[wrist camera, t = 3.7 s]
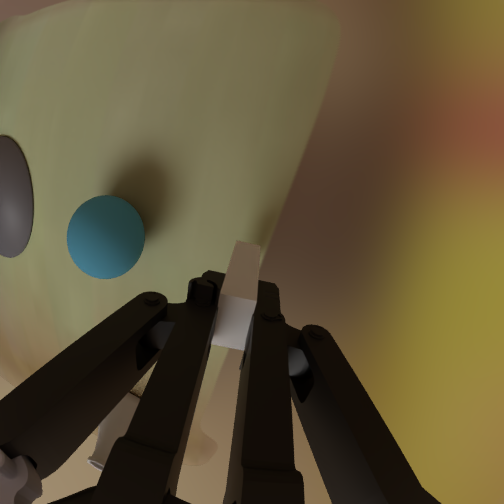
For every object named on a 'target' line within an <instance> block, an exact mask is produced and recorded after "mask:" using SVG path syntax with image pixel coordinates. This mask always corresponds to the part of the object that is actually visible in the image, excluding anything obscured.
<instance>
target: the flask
mask: <svg viewBox="0 0 504 504" xmlns="http://www.w3.org/2000/svg"><path fill="white" fill-rule="evenodd" d="M139 401H140V398H138V397H136V396H134V395H132V394H131V393H129V392H128V393H127V394H126V396H125V397H124V398H123V399H122V400H121V401H120V402H119V403H118V404H117V406H116V407H115V408H114V409H113V410H112V411H111V412H110V413H109V414H108V415H107V417H106V418H105V419H104V420H103V421H102V422H101V423H100V424H99V429H98V439H97V443H96V447H95V451H94V453H93V455H92V457H89V458H88V460H87V462H88V463H89V464H91V465H92V466H93V467H95V468H96V469H98V470H100V471H103V468H104V466H105V463H106V461H107V458H108V456H109V454H110V451H111V449H112V447H113V445H114V443H115V441H116V440H117V439H118V438H119V437H122V436H124V435H125V433H126V432H127V429H128V427H129V425H130V422H131V420H132V417H133V415H134V413H135V410H136V408H137V406H138V403H139Z"/></svg>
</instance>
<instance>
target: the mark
mask: <svg viewBox="0 0 504 504" xmlns="http://www.w3.org/2000/svg"><path fill="white" fill-rule="evenodd" d="M32 224H33V192H32V185H31V179H30V174H29V170H28V167H27V163H26V161H25V158H24V156H23V154H22V152H21V150H20V148H19V147H18V145H17V144H16V143H15V142H14V141H13V140H12V139H10V138H8V137H4V136H0V255H2V256H5V257H9V258H12V257H15V256H17V255H19V254H20V253H21V252H22V251H23V250H24V249H25V247H26V245H27V244H28V241H29V238H30V235H31V231H32Z"/></svg>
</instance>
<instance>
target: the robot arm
mask: <svg viewBox="0 0 504 504" xmlns="http://www.w3.org/2000/svg"><path fill="white" fill-rule="evenodd" d="M259 261H260V245H255V244H251V243H246V242H241V241H236V244H235V247H234V250H233V253H232V257H231V260H230V263H229V266H228V269H227V272H226V274H224V273H220V272H215V271H211V270H208V271H207V272H205V273H203V275H202V277H198V278H194V279H191V280H190V281H189V285H188V294H187V300H186V302H184V303H168V300H167V298H166V297H165V296H164V295H162V294H161V293H157V292H143V293H141V294H139V295H138V296H136V297H135V298H134V299H132V300H131V301H129V302H128V303H127V304H125V305H124V306H122V307H121V308H120V309H118V310H117V311H116V312H114V313H113V314H111V315H110V316H109V317H107V318H106V319H105V320H103V321H102V322H101V323H99V324H98V325H96V326H95V327H94V328H92V329H91V330H90V331H88V332H87V333H86V334H84V335H83V336H82V337H80V338H79V339H78V340H76V341H75V342H74V343H72V344H71V345H70V346H68V347H67V348H66V349H65V350H63V351H62V352H61V353H59V354H58V355H57V356H55V357H54V358H53V359H52V360H50V361H49V362H48V363H46V364H45V365H44V366H43V367H41V368H40V369H39V370H37V371H36V372H35V373H34V374H32V375H31V376H30V377H29V378H27V379H26V380H25V381H24V382H22V383H21V384H20V385H19V386H17V387H16V388H15V389H14V390H12V391H11V392H10V393H9V394H8V395H6V396H5V397H4V398H3V399H2V400H0V504H32V502H33V501H34V500H35V499H36V498H39V497H41V495H42V483H41V480H42V479H44V478H46V477H48V476H49V475H50V474H52V473H53V472H55V471H56V470H57V469H58V468H59V467H60V466H61V465H63V463H64V462H66V460H67V459H68V458H69V457H70V456H71V455H72V454H73V453H74V452H75V451H76V449H77V448H78V447H79V446H80V445H81V444H82V443H83V442H84V441H85V440H86V438H87V437H88V436H89V435H90V434H91V433H92V432H93V431H94V430H95V429H96V428H97V426H98V425H99V424H100V423H101V422H102V421H103V420H104V419H105V418H106V417H107V415H108V414H109V413H110V412H111V411H112V410H113V409H114V408H115V407H116V406H117V404H118V403H119V402H120V401H121V400H122V399H123V398H124V397H125V396H126V394H127V393H128V392H129V391H130V390H131V389H132V388H133V387H134V386H135V385H136V383H137V382H138V381H139V380H140V379H141V378H142V377H143V376H144V375H145V374H146V372H147V371H148V370H149V369H150V368H151V367H152V366H153V365H154V364H155V362H156V361H157V360H158V361H157V363H156V365H155V367H154V370H153V372H152V374H151V376H150V378H149V381H148V383H147V385H146V387H145V390H144V392H143V394H142V397H141V399H140V401H139V403H138V406H137V408H136V410H135V413H134V415H133V417H132V420H131V422H130V425H129V427H128V429H127V432H126V433H125V435H124V436H122V437H119V438H118V439H117V440H116V441H115V443H114V445H113V447H112V449H111V451H110V454H109V456H108V458H107V461H106V463H105V466H104V468H103V471H102V473H101V476H100V478H99V481H98V484H97V486H93V487H90V488H87V489H84V490H82V491H79V492H77V493H75V494H72V495H70V496H67V497H65V498H62V499H59V500H57V501H53V502H51V503H48V504H190V503H188V502H186V501H183V500H181V499H179V498H177V497H175V496H176V490H177V484H178V479H179V474H180V470H181V465H182V462H183V457H184V453H185V449H186V445H187V441H188V437H189V433H190V428H191V424H192V420H193V416H194V412H195V408H196V404H197V400H198V396H199V392H200V388H201V384H202V380H203V376H204V373H205V369H206V365H207V361H208V357H209V353H210V348H211V344H214V345H219V346H224V347H228V348H233V349H239V350H244V348H245V350H244V354H243V357H242V361H241V365H240V368H239V369H240V370H241V373H240V381H239V389H238V398H237V405H236V413H235V422H234V429H233V438H232V445H231V453H230V461H229V469H228V477H227V485H226V492H225V496H224V500H223V504H305V501H304V482H303V476H302V474H301V472H299V471H297V470H296V469H295V464H294V444H293V424H292V406H291V397H292V400H293V402H294V405H295V408H296V411H297V413H298V416H299V419H300V421H301V424H302V427H303V429H304V432H305V434H306V437H307V440H308V442H309V445H310V448H311V450H312V453H313V455H314V458H315V461H316V463H317V466H318V468H319V471H320V474H321V476H322V479H323V481H324V484H325V487H326V489H327V492H328V494H329V497H330V499H331V502H332V504H441V503H440V502H438V501H437V500H436V499H435V498H434V497H433V496H432V495H431V494H429V493H428V492H427V491H425V489H424V488H422V486H421V484H420V483H419V481H418V479H417V477H416V476H415V474H414V472H413V470H412V469H411V467H410V465H409V463H408V462H407V460H406V458H405V456H404V454H403V453H402V451H401V449H400V448H399V446H398V444H397V442H396V441H395V439H394V437H393V436H392V434H391V432H390V431H389V429H388V427H387V425H386V424H385V422H384V420H383V419H382V417H381V415H380V414H379V412H378V410H377V409H376V407H375V405H374V404H373V402H372V400H371V399H370V397H369V395H368V394H367V392H366V391H365V389H364V387H363V385H362V384H361V382H360V381H359V379H358V377H357V376H356V374H355V373H354V371H353V369H352V368H351V366H350V365H349V363H348V361H347V360H346V358H345V356H344V355H343V353H342V352H341V350H340V348H339V347H338V345H337V343H336V342H335V340H334V339H333V337H332V336H331V334H330V333H329V332H328V331H327V330H326V329H324V328H323V327H321V326H318V325H312V324H311V325H306V326H304V327H303V328H302V330H298V329H296V328H293V327H291V326H289V325H288V324H286V323H285V318H284V316H283V315H282V314H281V311H280V300H279V288H278V287H277V286H276V285H275V283H270V282H265V281H260V280H258V276H259Z"/></svg>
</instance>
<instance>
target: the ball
mask: <svg viewBox="0 0 504 504" xmlns="http://www.w3.org/2000/svg"><path fill="white" fill-rule="evenodd" d="M144 241H145V233H144V226H143V223H142V220H141V218H140V216H139V214H138V212H137V211H136V210H135V208H134V207H133V206H132V205H131V204H129V203H128V202H127V201H125V200H123V199H121V198H119V197H115V196H109V195H103V196H98V197H94V198H92V199H90V200H88V201H86V202H85V203H83V204H82V205H81V206H80V207H79V208H78V209H77V210H76V212H75V213H74V214H73V216H72V218H71V220H70V223H69V226H68V230H67V245H68V250H69V253H70V255H71V257H72V259H73V261H74V263H75V264H76V265H77V266H78V267H79V268H80V269H81V270H82V271H83V272H85V273H86V274H88V275H90V276H92V277H95V278H99V279H111V278H115V277H118V276H121V275H123V274H125V273H126V272H128V271H129V270H130V269H131V268H132V267H133V266H134V265H135V264H136V262H137V261H138V259H139V258H140V256H141V253H142V251H143V247H144Z"/></svg>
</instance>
